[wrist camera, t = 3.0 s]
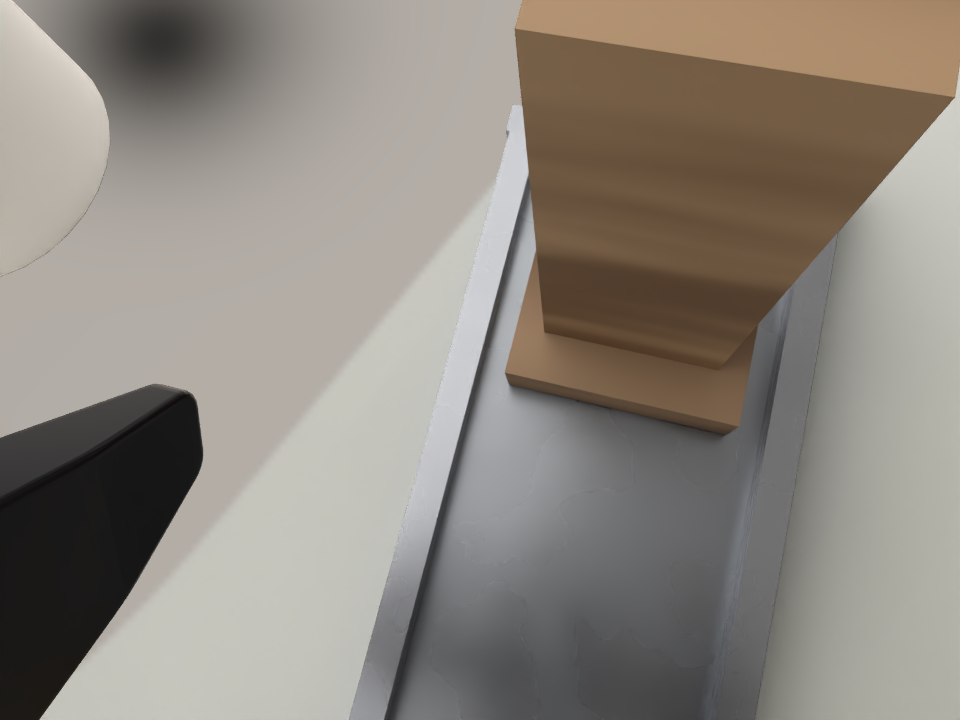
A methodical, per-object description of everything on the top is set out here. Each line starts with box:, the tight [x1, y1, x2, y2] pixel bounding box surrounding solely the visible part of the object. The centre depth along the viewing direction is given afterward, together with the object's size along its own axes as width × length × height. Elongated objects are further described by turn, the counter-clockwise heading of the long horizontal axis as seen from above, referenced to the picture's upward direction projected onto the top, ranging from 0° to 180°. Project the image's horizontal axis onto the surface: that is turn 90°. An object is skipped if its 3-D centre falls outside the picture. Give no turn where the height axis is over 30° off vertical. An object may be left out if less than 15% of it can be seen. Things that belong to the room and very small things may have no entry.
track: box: [349, 105, 838, 720], centre depth 18 cm, size 21×9×2 cm, turn 165°
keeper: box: [505, 0, 960, 435], centre depth 14 cm, size 6×6×13 cm
